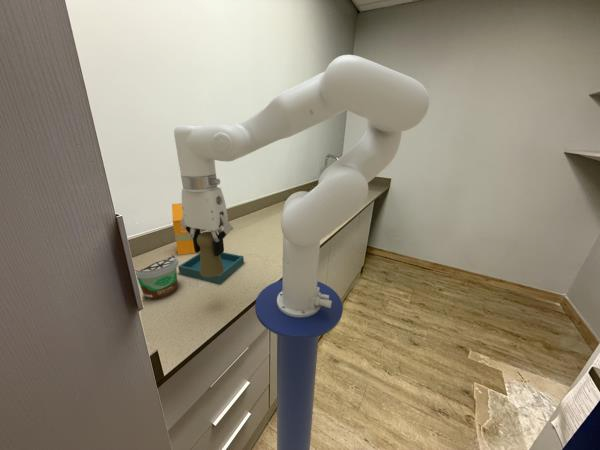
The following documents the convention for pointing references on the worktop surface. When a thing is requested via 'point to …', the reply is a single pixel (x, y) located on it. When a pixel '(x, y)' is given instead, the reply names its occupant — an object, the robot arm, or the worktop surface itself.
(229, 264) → the tray
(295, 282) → the robot arm
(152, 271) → the food container
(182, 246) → the orange juice
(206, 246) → the olive tapered rounded piece
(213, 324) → the worktop surface
